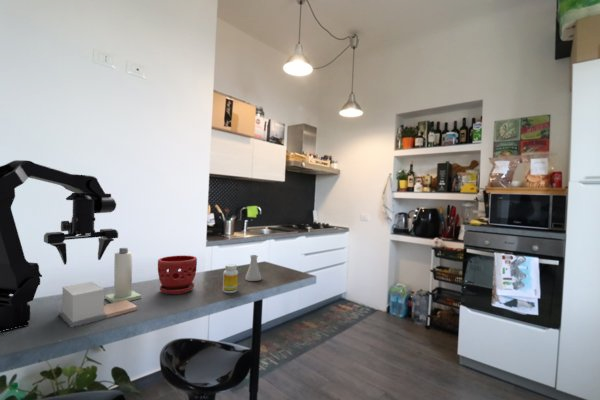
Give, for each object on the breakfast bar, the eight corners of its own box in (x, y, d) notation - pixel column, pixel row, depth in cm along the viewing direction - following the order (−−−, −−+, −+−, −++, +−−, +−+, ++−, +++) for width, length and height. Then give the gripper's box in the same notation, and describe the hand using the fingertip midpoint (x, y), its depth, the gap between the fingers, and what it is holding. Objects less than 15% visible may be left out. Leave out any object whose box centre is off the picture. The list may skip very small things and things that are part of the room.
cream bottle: (117, 299, 93) (118, 250, 92) (111, 295, 96) (112, 248, 95) (134, 295, 97) (134, 248, 96) (128, 291, 100) (128, 246, 99)
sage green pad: (114, 304, 91) (114, 301, 91) (104, 298, 96) (105, 295, 96) (141, 298, 97) (141, 295, 97) (131, 292, 102) (131, 289, 102)
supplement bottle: (221, 289, 108) (221, 264, 108) (235, 287, 111) (235, 262, 111) (224, 294, 104) (225, 267, 103) (239, 292, 106) (240, 266, 106)
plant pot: (203, 288, 109) (204, 256, 109) (175, 299, 97) (176, 263, 97) (178, 282, 114) (179, 252, 114) (148, 292, 103) (149, 258, 102)
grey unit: (71, 327, 75) (72, 296, 75) (58, 314, 82) (59, 286, 82) (106, 318, 81) (107, 289, 81) (92, 306, 89) (92, 280, 88)
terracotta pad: (106, 318, 81) (106, 314, 81) (96, 310, 86) (96, 306, 86) (137, 309, 87) (137, 306, 87) (126, 302, 92) (126, 299, 92)
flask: (242, 277, 125) (243, 254, 124) (258, 276, 128) (259, 253, 128) (247, 282, 118) (247, 258, 118) (264, 280, 121) (264, 257, 121)
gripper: (107, 211, 107) (106, 254, 107) (40, 213, 92) (39, 262, 92) (119, 213, 100) (118, 259, 100) (48, 215, 85) (47, 268, 85)
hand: (82, 261), depth 95 cm, fingers open, 9 cm apart
